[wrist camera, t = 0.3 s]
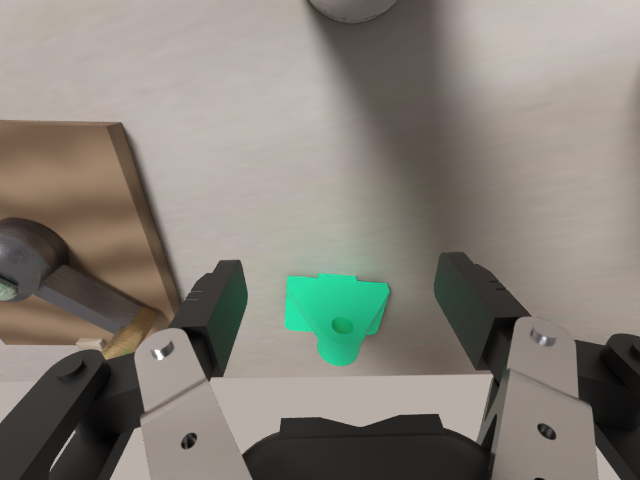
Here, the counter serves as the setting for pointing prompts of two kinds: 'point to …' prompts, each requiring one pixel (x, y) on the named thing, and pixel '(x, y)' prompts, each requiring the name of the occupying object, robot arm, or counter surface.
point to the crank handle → (65, 285)
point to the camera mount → (335, 312)
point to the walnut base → (82, 224)
